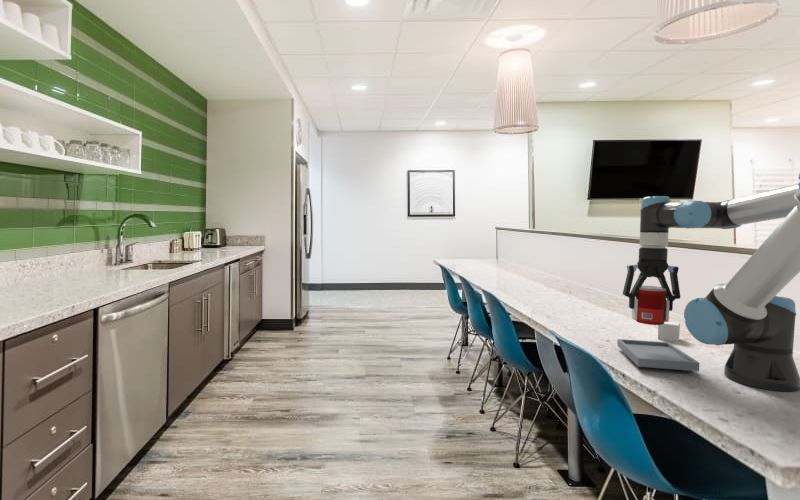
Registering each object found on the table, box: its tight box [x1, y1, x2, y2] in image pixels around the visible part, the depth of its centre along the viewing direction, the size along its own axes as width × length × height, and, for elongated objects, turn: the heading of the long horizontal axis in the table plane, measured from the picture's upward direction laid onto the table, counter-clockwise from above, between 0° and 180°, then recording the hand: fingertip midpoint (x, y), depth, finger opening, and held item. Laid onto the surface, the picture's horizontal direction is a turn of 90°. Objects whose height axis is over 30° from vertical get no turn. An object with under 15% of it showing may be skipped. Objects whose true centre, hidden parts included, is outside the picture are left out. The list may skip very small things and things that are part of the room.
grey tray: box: [616, 338, 700, 373], centre depth 124 cm, size 21×15×4 cm
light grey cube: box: [657, 321, 681, 343], centre depth 150 cm, size 6×6×6 cm
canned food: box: [635, 285, 667, 326], centre depth 128 cm, size 8×8×11 cm
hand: (649, 319), depth 128 cm, fingers closed on canned food, 8 cm apart
